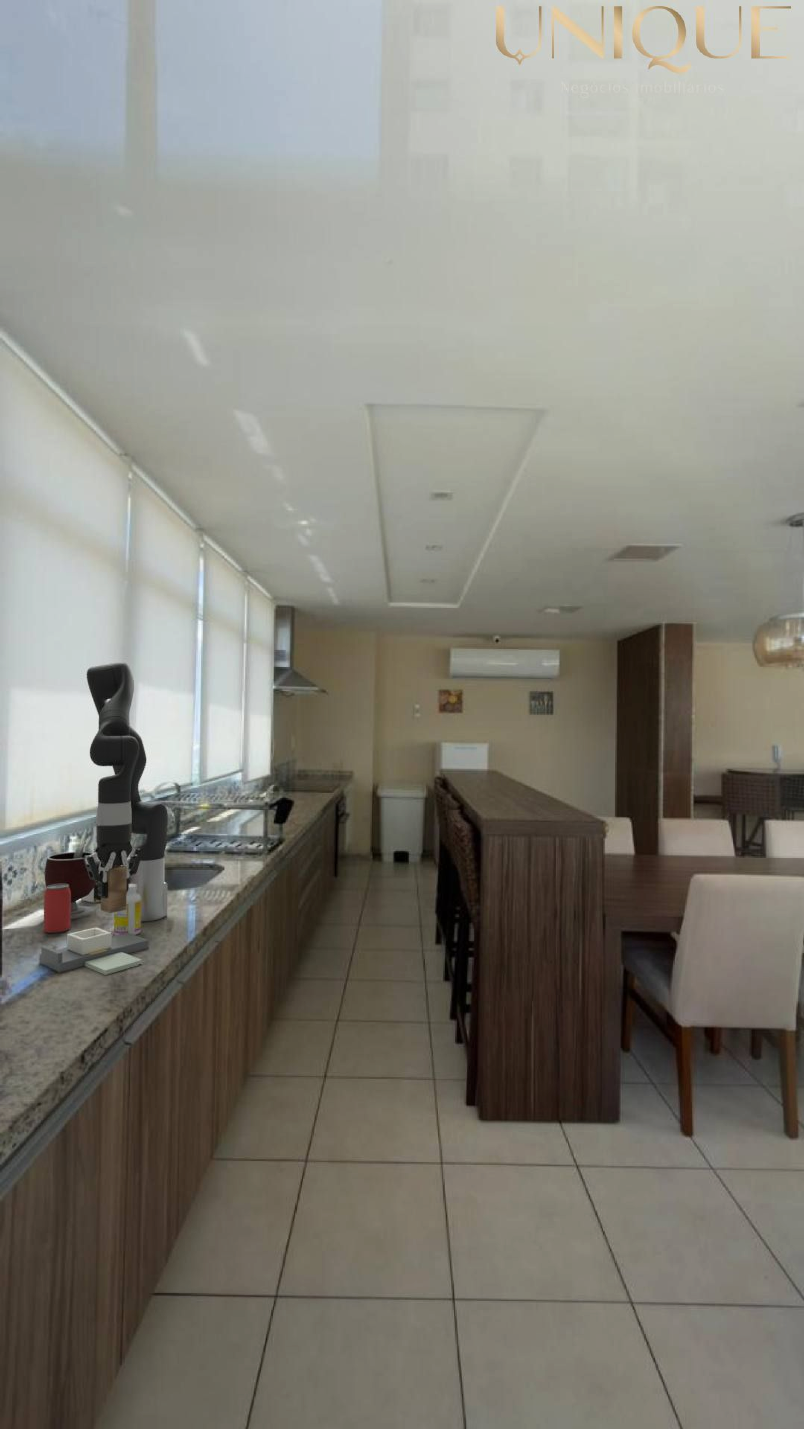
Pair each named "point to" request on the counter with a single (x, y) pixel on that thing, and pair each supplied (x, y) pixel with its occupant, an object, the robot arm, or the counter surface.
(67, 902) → the beer can
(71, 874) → the mate gourd
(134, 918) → the supplement bottle
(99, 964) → the tool rest
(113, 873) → the peg
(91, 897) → the medicine bottle
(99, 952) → the switch panel
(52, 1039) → the counter surface
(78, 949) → the tab
